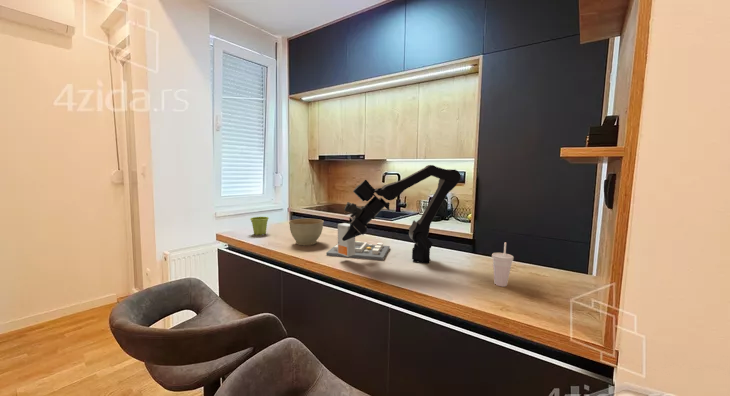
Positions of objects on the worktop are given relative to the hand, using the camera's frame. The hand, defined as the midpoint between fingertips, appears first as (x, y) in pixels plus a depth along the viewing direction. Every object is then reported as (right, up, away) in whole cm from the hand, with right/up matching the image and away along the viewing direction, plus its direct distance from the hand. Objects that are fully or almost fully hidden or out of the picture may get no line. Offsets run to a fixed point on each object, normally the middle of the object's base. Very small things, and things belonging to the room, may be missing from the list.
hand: (342, 237), depth 117 cm
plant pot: (-48, -4, +45) cm, 66 cm away
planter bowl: (-19, -6, +27) cm, 34 cm away
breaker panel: (+6, -8, +14) cm, 17 cm away
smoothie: (+53, -13, -20) cm, 58 cm away
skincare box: (+1, -7, +1) cm, 7 cm away
